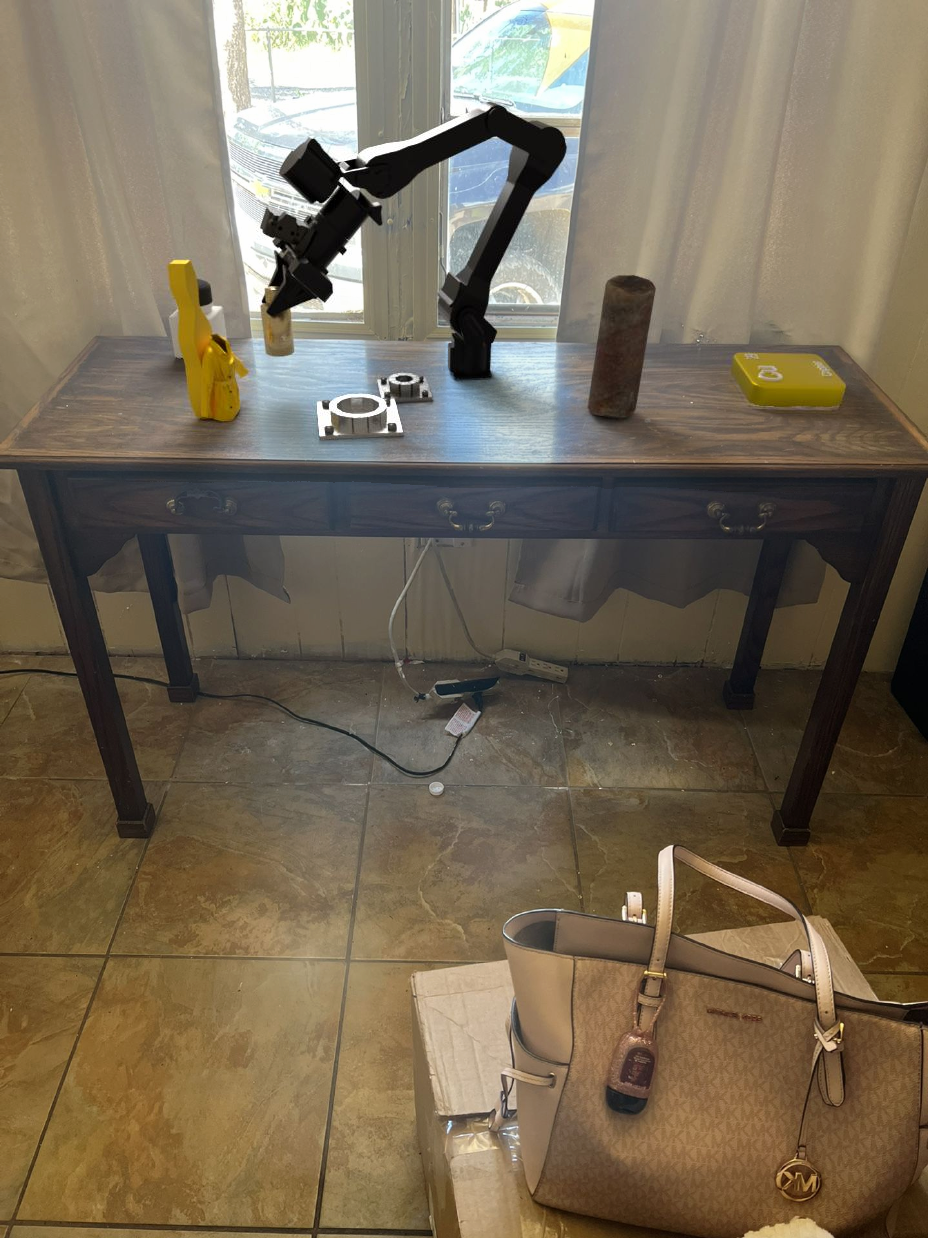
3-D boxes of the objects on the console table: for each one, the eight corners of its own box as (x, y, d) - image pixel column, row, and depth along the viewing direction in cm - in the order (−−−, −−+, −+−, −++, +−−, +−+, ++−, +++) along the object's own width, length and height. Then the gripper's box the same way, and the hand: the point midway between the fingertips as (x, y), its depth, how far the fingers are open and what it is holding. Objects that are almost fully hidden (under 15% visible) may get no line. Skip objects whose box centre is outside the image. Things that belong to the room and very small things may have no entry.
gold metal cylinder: (294, 345, 139) (288, 283, 134) (294, 355, 136) (288, 292, 130) (265, 346, 139) (258, 284, 133) (265, 357, 135) (258, 293, 130)
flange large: (394, 402, 139) (394, 387, 138) (402, 435, 130) (402, 420, 128) (317, 405, 137) (316, 391, 136) (320, 439, 128) (318, 424, 126)
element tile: (843, 413, 141) (851, 384, 138) (749, 412, 140) (756, 383, 137) (812, 377, 153) (819, 350, 150) (725, 375, 152) (731, 348, 149)
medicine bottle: (228, 346, 157) (218, 276, 150) (215, 361, 151) (204, 289, 144) (189, 344, 157) (177, 274, 150) (174, 358, 152) (162, 286, 144)
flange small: (425, 381, 146) (425, 368, 145) (432, 400, 140) (432, 387, 139) (377, 383, 145) (376, 370, 144) (381, 402, 139) (381, 389, 137)
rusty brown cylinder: (640, 408, 139) (660, 277, 127) (631, 427, 134) (651, 292, 122) (592, 401, 141) (607, 271, 129) (582, 419, 136) (597, 285, 124)
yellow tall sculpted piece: (221, 440, 127) (197, 282, 114) (168, 435, 128) (138, 278, 114) (261, 392, 141) (244, 247, 128) (214, 388, 142) (192, 243, 129)
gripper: (280, 172, 131) (215, 255, 135) (302, 200, 117) (229, 291, 121) (336, 226, 138) (272, 303, 142) (363, 258, 124) (292, 343, 128)
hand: (266, 309), depth 133 cm, fingers closed on gold metal cylinder, 4 cm apart
